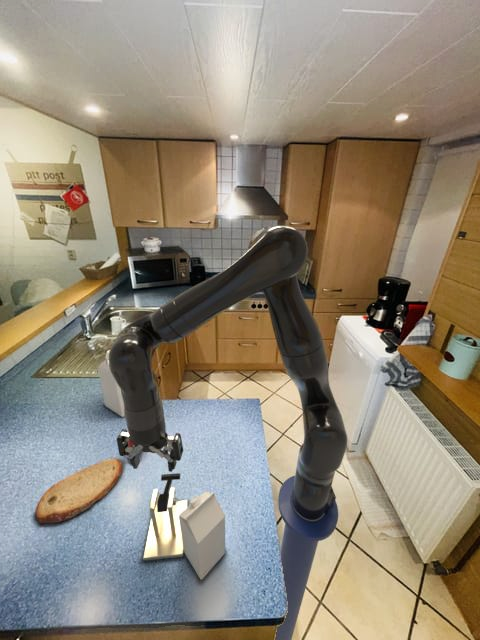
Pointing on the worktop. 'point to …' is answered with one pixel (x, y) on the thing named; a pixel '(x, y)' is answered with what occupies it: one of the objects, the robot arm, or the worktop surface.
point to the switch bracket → (165, 529)
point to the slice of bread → (78, 491)
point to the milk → (110, 388)
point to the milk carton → (203, 532)
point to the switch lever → (166, 492)
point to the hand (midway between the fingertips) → (154, 466)
